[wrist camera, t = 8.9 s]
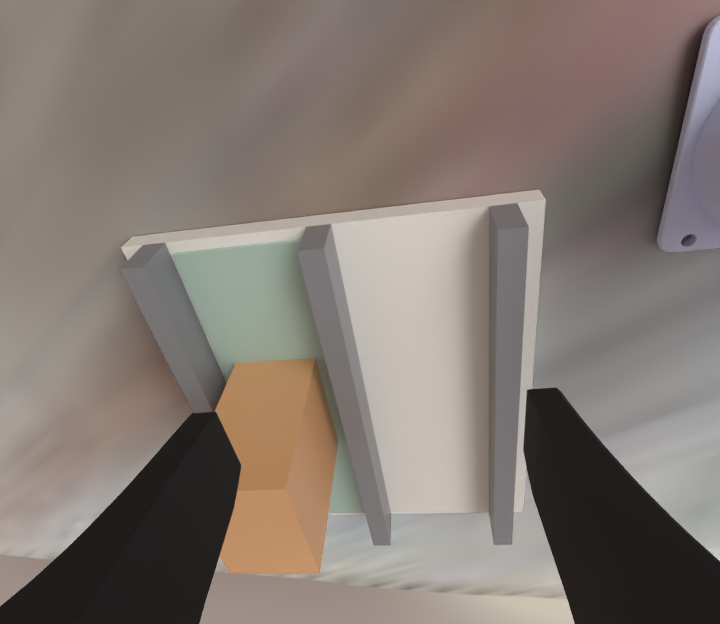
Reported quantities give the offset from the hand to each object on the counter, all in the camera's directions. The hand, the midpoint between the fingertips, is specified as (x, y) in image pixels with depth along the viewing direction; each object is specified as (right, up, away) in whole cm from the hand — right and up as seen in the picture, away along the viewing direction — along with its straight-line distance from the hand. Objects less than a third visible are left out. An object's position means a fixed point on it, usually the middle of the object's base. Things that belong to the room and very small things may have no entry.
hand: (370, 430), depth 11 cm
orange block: (-4, -2, +13) cm, 14 cm away
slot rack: (0, -1, +14) cm, 14 cm away
